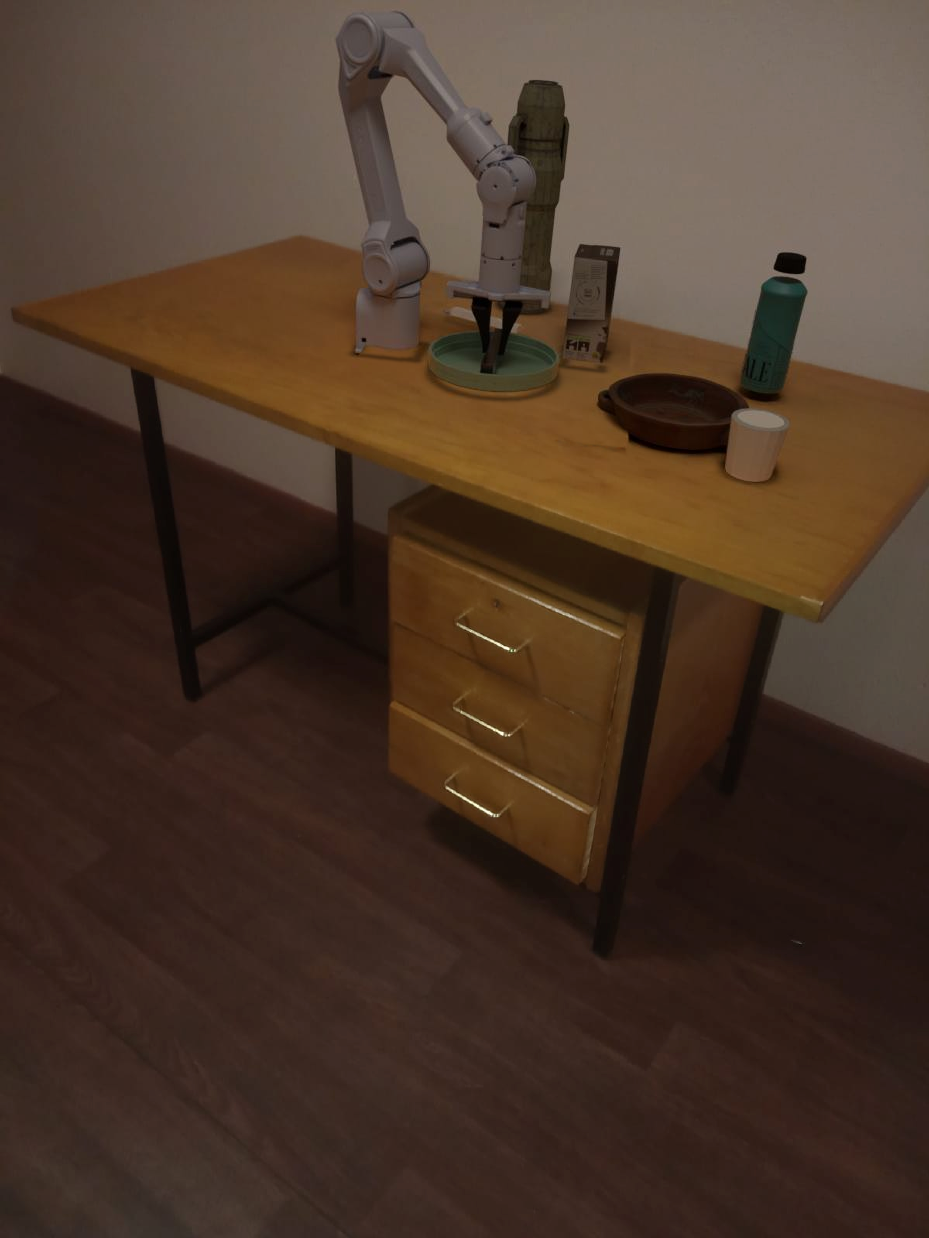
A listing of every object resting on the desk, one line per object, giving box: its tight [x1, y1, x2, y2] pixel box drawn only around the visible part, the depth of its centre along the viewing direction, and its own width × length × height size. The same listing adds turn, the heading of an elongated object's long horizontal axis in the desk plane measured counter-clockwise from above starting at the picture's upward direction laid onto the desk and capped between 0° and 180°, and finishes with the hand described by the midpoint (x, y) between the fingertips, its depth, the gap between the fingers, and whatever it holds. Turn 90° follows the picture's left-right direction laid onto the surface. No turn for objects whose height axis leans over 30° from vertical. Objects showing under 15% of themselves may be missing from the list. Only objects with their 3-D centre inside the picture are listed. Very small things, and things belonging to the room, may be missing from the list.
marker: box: [442, 306, 524, 334], centre depth 158 cm, size 3×2×16 cm
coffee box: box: [561, 243, 621, 364], centre depth 144 cm, size 9×6×16 cm
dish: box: [597, 372, 750, 451], centre depth 125 cm, size 18×22×5 cm
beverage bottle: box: [740, 251, 809, 394], centre depth 134 cm, size 6×7×20 cm
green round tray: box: [427, 330, 560, 393], centre depth 139 cm, size 19×19×4 cm
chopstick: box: [480, 327, 502, 374], centre depth 138 cm, size 2×16×2 cm, turn 171°
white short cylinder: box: [724, 407, 791, 483], centre depth 116 cm, size 7×7×7 cm
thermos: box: [498, 79, 570, 315], centre depth 159 cm, size 9×12×35 cm
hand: (493, 352), depth 138 cm, fingers closed on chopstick, 2 cm apart
